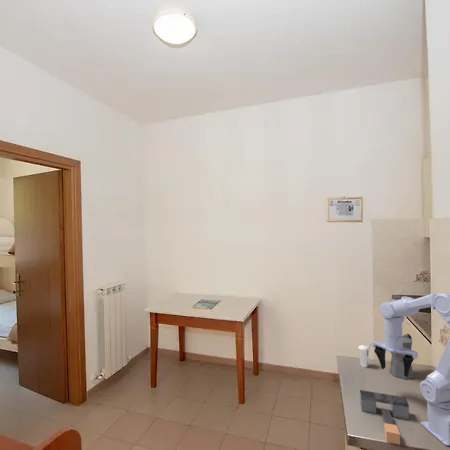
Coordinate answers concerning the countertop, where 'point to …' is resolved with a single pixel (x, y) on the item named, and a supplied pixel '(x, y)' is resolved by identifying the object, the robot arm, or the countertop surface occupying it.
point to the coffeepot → (401, 360)
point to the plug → (390, 428)
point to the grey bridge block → (397, 403)
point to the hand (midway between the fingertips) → (394, 371)
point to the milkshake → (364, 355)
